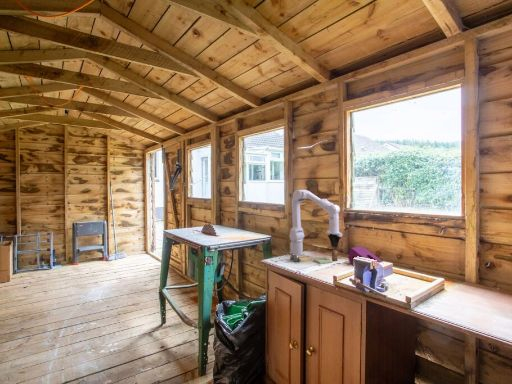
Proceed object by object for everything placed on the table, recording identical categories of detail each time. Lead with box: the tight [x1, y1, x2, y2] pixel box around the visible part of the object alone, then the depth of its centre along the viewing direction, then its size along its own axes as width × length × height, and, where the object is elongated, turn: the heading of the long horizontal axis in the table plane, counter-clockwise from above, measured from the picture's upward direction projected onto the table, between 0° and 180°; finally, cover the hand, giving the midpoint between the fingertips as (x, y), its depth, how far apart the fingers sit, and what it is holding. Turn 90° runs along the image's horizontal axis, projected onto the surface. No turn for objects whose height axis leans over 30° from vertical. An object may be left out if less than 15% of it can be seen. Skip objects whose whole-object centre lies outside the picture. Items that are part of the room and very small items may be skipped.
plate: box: [298, 254, 313, 263], centre depth 183 cm, size 8×8×2 cm
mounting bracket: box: [347, 245, 383, 265], centre depth 168 cm, size 9×8×18 cm
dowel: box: [331, 249, 339, 262], centre depth 180 cm, size 3×3×6 cm
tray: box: [313, 256, 334, 265], centre depth 178 cm, size 8×8×2 cm
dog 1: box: [289, 253, 295, 262], centre depth 184 cm, size 3×3×4 cm
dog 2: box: [293, 255, 300, 263], centre depth 179 cm, size 3×3×4 cm
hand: (334, 246), depth 180 cm, fingers closed
